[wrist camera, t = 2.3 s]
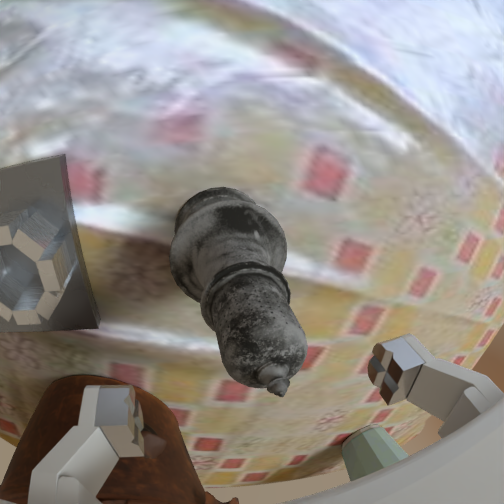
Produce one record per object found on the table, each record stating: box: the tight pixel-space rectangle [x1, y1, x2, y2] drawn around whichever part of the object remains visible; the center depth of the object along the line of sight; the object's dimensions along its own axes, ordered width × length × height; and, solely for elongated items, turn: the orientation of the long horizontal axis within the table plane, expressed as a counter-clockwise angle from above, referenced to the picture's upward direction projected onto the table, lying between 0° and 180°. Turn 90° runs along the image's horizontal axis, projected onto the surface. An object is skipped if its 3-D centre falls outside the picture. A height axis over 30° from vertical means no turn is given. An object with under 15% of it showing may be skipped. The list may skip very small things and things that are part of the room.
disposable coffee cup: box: [342, 424, 409, 481], centre depth 30 cm, size 11×11×15 cm
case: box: [0, 375, 239, 504], centre depth 16 cm, size 18×20×18 cm
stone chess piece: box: [169, 187, 308, 397], centre depth 13 cm, size 6×6×12 cm
